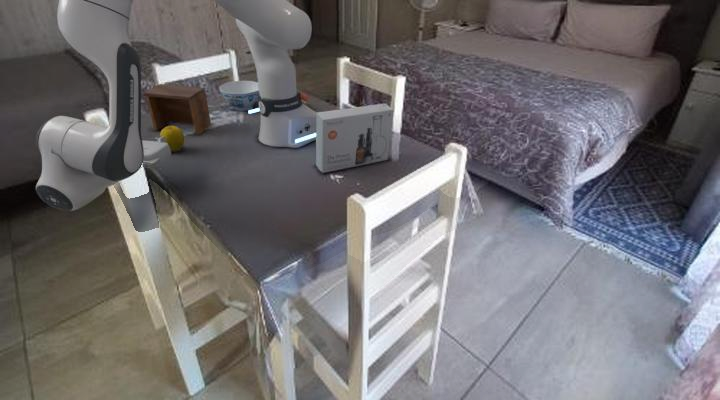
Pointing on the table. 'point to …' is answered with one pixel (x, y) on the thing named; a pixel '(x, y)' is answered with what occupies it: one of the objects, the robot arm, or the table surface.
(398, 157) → the table surface
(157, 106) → the cabinet
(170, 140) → the yellow lemon
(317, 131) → the skincare box
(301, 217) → the table surface
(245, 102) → the chinaware
